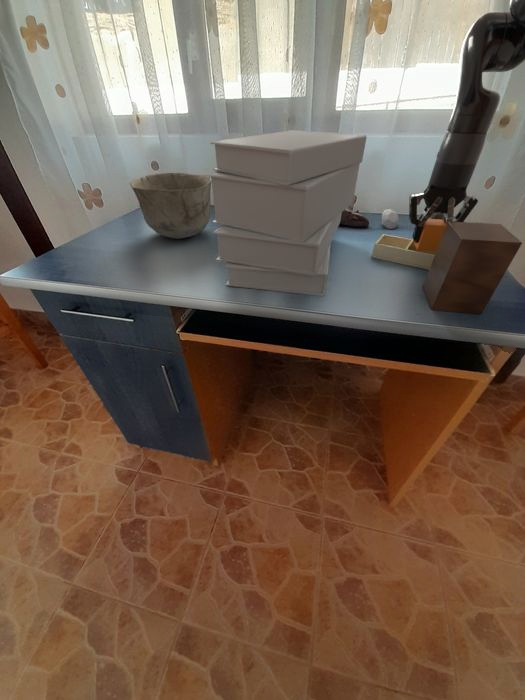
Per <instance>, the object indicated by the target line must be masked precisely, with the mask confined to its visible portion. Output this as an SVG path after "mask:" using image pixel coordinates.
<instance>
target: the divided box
mask: <svg viewBox="0 0 525 700" xmlns="http://www.w3.org/2000/svg"><path fill="white" fill-rule="evenodd" d="M435 254H436V252H434V251H419V250H417V249H416V247H415V244H414V240H413V238H407V237H402V236H396V235H391V234H386V233H383V234H382V235H381V236H380V237H379V238H378V239H377V240H376V242H374V245H373V249H372V253H371V258H374V259H378V260H382V261H387V262H391V263H396V264H400V265H405V266H410V267H414V268H419V269H423V270H427V271H429V269H430V266H431V264H432V261H433V259H434V256H435Z"/></svg>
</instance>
